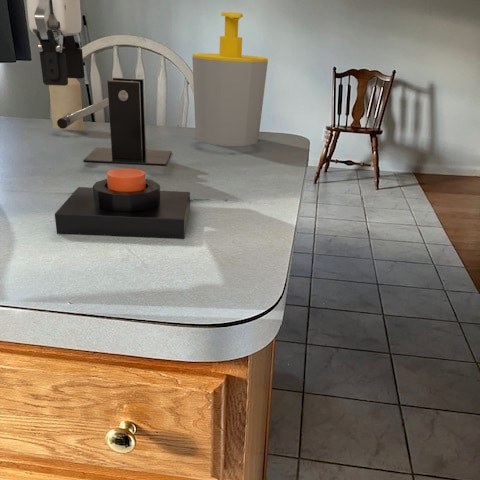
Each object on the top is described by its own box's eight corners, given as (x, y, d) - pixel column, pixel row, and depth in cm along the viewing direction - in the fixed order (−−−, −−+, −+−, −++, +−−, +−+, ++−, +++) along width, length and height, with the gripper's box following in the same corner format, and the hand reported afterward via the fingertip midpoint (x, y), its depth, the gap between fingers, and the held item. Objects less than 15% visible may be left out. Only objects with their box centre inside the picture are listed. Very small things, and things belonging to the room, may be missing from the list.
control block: (56, 234, 55) (52, 196, 53) (79, 205, 64) (76, 171, 62) (184, 239, 56) (184, 201, 54) (189, 209, 65) (190, 176, 63)
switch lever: (62, 133, 79) (53, 117, 78) (70, 127, 83) (62, 112, 82) (136, 99, 77) (128, 82, 76) (141, 95, 81) (134, 79, 80)
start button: (104, 193, 56) (103, 176, 56) (111, 183, 60) (110, 167, 59) (143, 195, 57) (142, 178, 56) (147, 184, 60) (147, 169, 59)
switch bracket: (83, 168, 79) (76, 80, 73) (96, 154, 87) (90, 74, 81) (166, 172, 80) (164, 85, 74) (171, 158, 88) (170, 79, 82)
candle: (49, 129, 103) (42, 72, 98) (76, 127, 106) (71, 72, 101) (61, 135, 99) (55, 75, 95) (89, 132, 103) (84, 75, 98)
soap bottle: (196, 151, 93) (197, 9, 83) (187, 136, 104) (188, 10, 94) (269, 152, 96) (280, 15, 85) (253, 137, 107) (261, 14, 96)
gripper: (39, -58, 77) (55, 74, 85) (-6, -76, 62) (18, 87, 70) (93, -55, 77) (103, 76, 85) (61, -73, 62) (77, 89, 70)
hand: (65, 81), depth 78 cm, fingers open, 9 cm apart
